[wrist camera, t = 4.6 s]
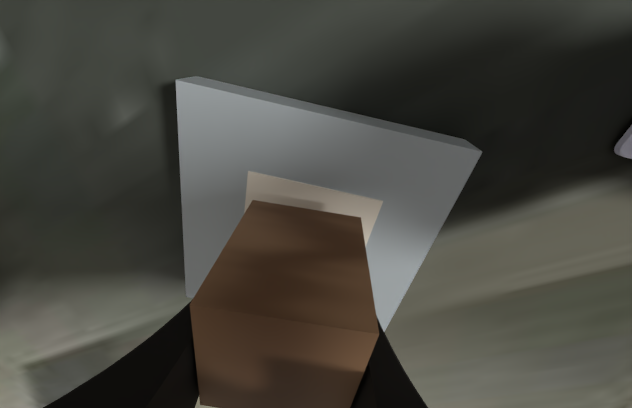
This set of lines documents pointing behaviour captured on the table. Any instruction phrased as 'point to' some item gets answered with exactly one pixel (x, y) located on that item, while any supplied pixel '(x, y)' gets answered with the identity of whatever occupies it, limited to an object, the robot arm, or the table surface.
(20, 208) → the table surface
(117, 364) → the robot arm
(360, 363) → the walnut block
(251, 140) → the base board
